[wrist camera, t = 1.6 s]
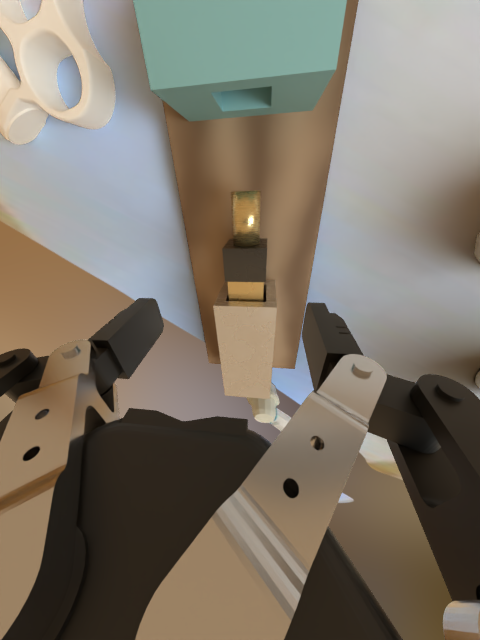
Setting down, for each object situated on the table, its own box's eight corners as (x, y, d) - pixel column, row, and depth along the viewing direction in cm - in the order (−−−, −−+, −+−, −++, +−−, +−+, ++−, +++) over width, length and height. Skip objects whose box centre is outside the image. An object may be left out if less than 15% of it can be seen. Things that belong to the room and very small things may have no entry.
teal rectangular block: (326, -3, 12) (369, -145, 7) (312, 110, 15) (336, 69, 10) (176, 21, 14) (116, -86, 8) (189, 121, 16) (150, 90, 11)
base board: (360, -45, 12) (370, -70, 11) (293, 361, 32) (294, 368, 31) (151, -8, 14) (140, -26, 13) (211, 356, 34) (209, 363, 33)
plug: (269, 189, 17) (269, 190, 14) (262, 365, 29) (261, 386, 26) (226, 191, 18) (217, 192, 14) (237, 363, 30) (233, 384, 27)
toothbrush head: (312, 460, 44) (240, 422, 32) (305, 428, 49) (241, 384, 37) (335, 457, 41) (266, 413, 29) (325, 423, 46) (264, 375, 34)
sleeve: (275, 280, 23) (276, 307, 18) (269, 362, 31) (269, 399, 26) (225, 279, 24) (213, 305, 19) (232, 360, 32) (224, 395, 26)
